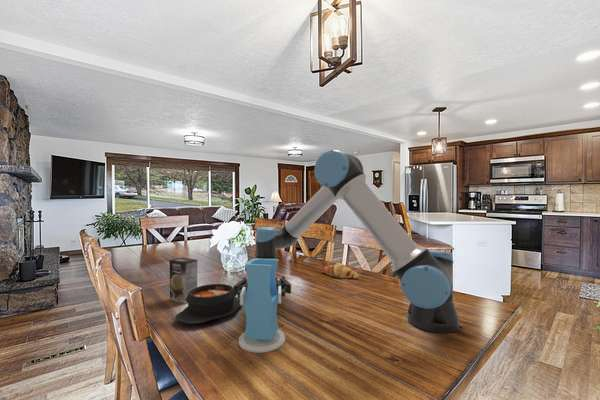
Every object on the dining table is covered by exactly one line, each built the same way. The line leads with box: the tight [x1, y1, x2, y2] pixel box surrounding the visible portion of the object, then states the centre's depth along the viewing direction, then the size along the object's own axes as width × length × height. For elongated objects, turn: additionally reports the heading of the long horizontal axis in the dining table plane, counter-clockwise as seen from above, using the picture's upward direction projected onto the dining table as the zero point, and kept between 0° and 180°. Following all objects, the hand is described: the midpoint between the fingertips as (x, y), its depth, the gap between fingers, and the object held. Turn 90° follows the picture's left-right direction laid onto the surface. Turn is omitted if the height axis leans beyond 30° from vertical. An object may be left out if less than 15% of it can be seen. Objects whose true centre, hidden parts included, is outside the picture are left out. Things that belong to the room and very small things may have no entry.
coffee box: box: [169, 257, 198, 305], centre depth 113 cm, size 9×6×16 cm
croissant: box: [321, 262, 360, 280], centre depth 146 cm, size 21×10×8 cm, turn 55°
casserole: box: [174, 283, 241, 325], centre depth 99 cm, size 25×19×8 cm
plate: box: [238, 328, 286, 354], centre depth 80 cm, size 13×13×1 cm
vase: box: [242, 258, 279, 340], centre depth 80 cm, size 8×8×20 cm
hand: (260, 299), depth 76 cm, fingers closed on vase, 9 cm apart
